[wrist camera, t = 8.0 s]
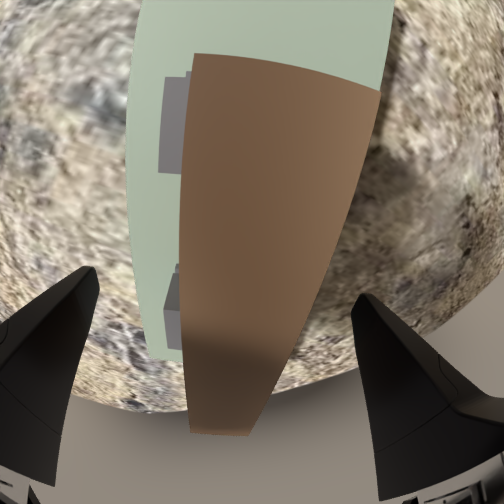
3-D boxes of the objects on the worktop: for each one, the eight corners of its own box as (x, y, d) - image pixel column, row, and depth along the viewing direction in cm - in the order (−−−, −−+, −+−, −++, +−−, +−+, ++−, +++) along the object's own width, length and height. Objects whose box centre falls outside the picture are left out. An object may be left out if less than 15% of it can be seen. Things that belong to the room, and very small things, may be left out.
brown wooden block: (290, 85, 9) (381, 92, 3) (244, 317, 15) (248, 436, 10) (225, 75, 8) (194, 52, 2) (201, 313, 15) (190, 432, 9)
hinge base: (382, 4, 7) (432, -13, 4) (279, 356, 20) (285, 402, 17) (161, -33, 6) (131, -69, 2) (152, 345, 19) (143, 390, 16)
